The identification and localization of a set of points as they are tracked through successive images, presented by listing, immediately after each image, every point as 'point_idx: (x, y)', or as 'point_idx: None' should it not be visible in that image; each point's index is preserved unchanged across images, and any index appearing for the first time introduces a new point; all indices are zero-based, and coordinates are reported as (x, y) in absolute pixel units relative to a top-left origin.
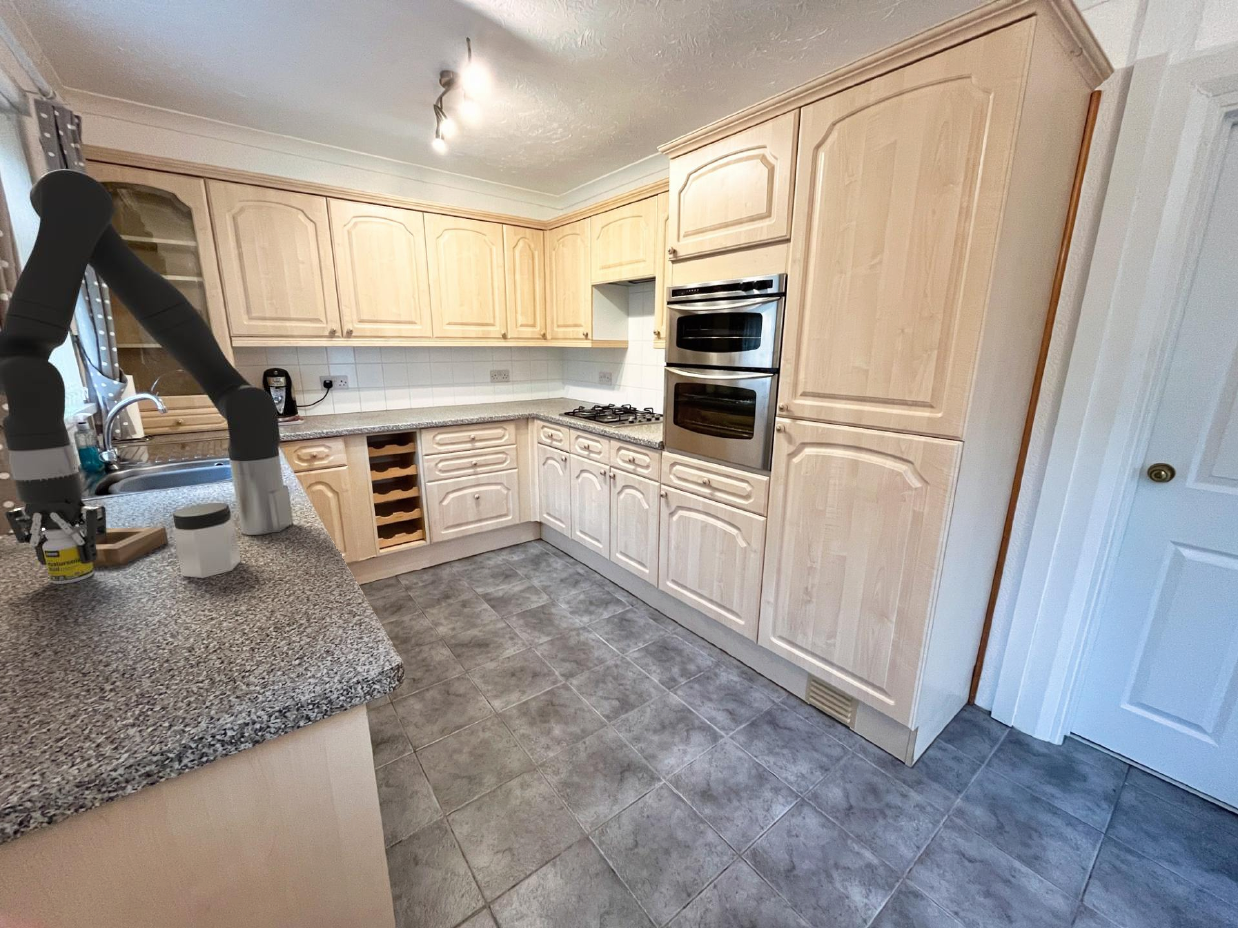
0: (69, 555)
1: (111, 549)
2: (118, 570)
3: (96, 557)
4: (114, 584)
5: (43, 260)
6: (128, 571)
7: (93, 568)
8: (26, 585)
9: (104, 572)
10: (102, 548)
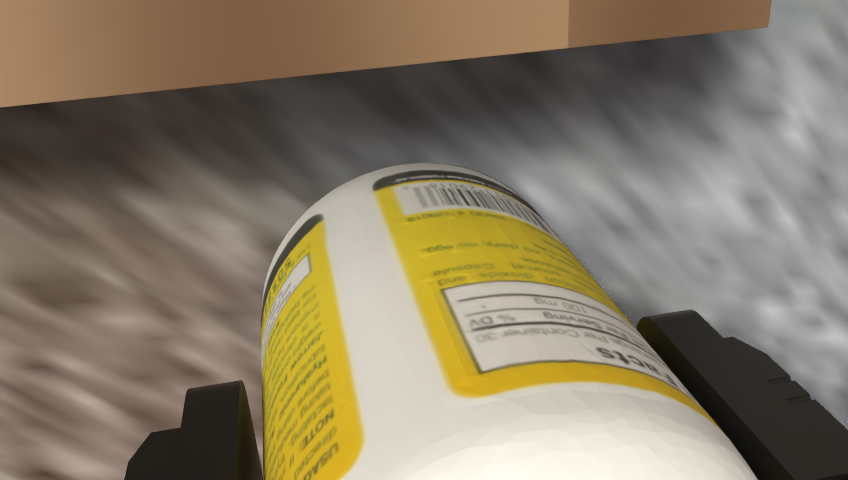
0: None
1: (680, 34)
2: (695, 117)
3: (729, 343)
4: (842, 367)
5: None
6: (802, 137)
7: (538, 214)
8: (136, 450)
9: (596, 167)
10: (538, 19)
